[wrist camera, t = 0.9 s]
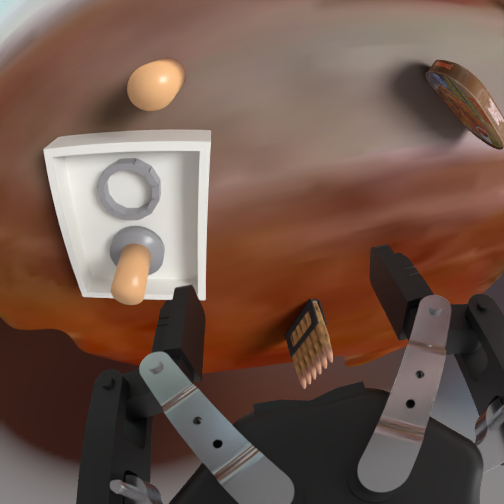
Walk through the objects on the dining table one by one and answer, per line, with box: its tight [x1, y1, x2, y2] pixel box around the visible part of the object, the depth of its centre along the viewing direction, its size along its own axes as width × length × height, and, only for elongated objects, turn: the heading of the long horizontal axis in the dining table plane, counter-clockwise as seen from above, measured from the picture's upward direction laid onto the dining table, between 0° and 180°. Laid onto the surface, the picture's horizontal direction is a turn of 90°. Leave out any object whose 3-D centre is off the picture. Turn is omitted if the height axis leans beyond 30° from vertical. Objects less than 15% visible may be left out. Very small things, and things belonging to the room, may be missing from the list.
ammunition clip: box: [285, 299, 333, 389], centre depth 49 cm, size 11×2×12 cm, turn 161°
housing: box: [43, 130, 211, 305], centre depth 33 cm, size 18×22×9 cm
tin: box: [426, 60, 504, 150], centre depth 26 cm, size 15×3×8 cm, turn 59°
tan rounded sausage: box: [127, 58, 186, 111], centre depth 23 cm, size 4×4×8 cm
